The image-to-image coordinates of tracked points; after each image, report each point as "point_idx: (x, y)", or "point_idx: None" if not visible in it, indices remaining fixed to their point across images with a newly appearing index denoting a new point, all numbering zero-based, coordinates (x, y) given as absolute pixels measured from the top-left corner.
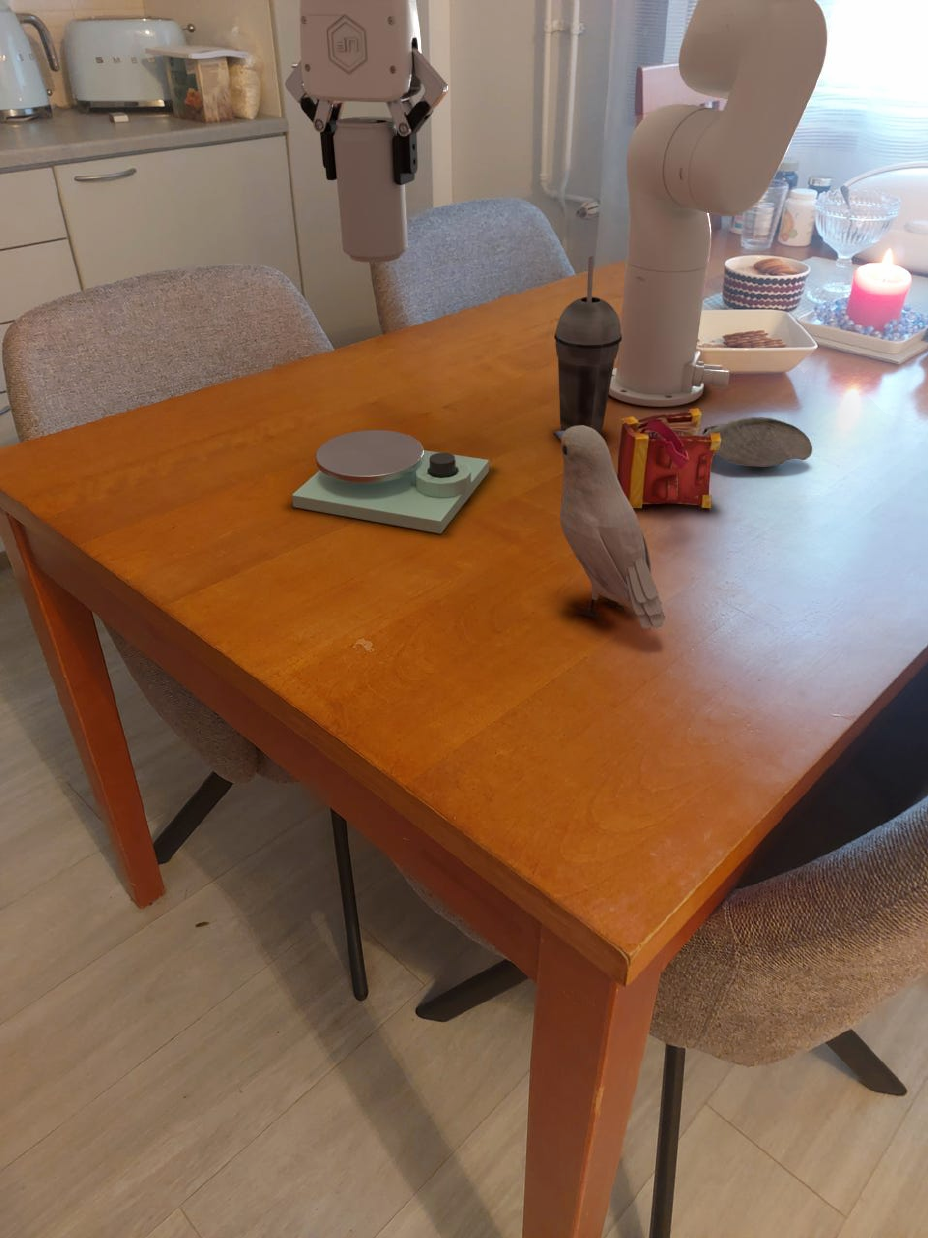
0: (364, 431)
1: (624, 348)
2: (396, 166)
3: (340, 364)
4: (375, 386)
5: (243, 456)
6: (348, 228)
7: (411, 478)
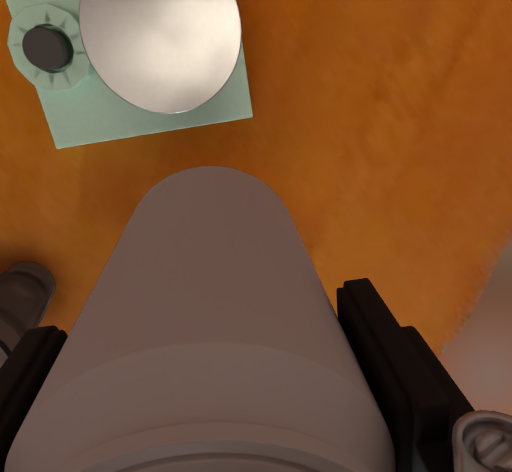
0: (213, 91)
1: None
2: (17, 366)
3: (413, 323)
4: None
5: (380, 23)
6: (237, 188)
7: None
